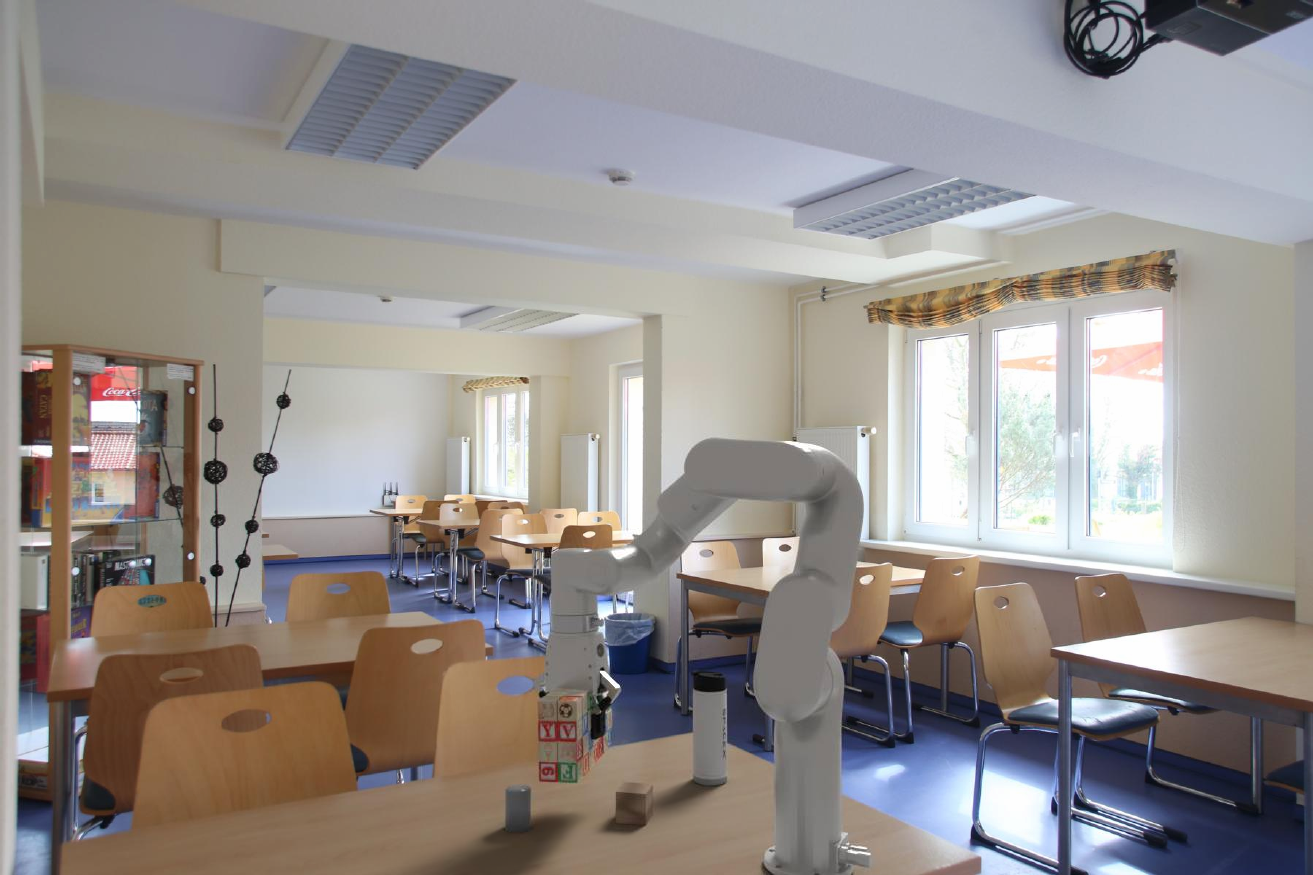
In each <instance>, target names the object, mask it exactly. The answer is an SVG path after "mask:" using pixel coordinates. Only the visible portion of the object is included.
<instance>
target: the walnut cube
mask: <svg viewBox="0 0 1313 875" xmlns="http://www.w3.org/2000/svg"><path fill="white" fill-rule="evenodd" d="M653 815H654V784H653V783H646V782H645V783H644V782H643V783H642V782H630V781H623V782H622V783H621V784H620V786H619V787H618V789H617V790H615V824H623V825H624V824H625V825H634V826H635V825H637V826H638V825H639V826H647V825H648V823H649V822H650V820H651V818H652V816H653Z"/></svg>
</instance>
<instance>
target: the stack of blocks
mask: <svg viewBox="0 0 1313 875" xmlns="http://www.w3.org/2000/svg"><path fill="white" fill-rule="evenodd" d="M607 694H608V691H607V692H605V693H603V695H604V697H606V696H607ZM605 712H606V731H605V735H604V736H603V737H601V738H598V739H596V740H593V739H592V738H591V714H593V713H594V711H593V709H592V707H591V705H590V696H589V691H587V690H575V689H566V688H555V689H554V690H552V692H550V693H548V694H547V695H546V696H544V697H542V698H540V699H538V700H537V718H538V719H537V720H538V721H537V736H538V738H537V739H538V781H539V782H542V783H567V784H569V783H570V784H578V783H579V782H580V781H581V780H582V779H583V778H584V777H585V776H586V775H588V773H589V772H590V770H591V769H593V767H594V766H595V764H596V763H597V762H598V760H600V758H601V757H602V755H603V754H605V753H606V752H607V751H608V750H609V749H610V748H611V746H612V745H613V710H612V705H611V706H610V707H609V709H608V710H607V711H605Z"/></svg>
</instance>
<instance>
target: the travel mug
mask: <svg viewBox="0 0 1313 875" xmlns="http://www.w3.org/2000/svg"><path fill="white" fill-rule="evenodd" d="M690 674H691V676H692V677H693V678H692V684H693V685H692V771H693V772H692V780H693V781H694V782H695V784H698V785H701V786H712V787H713V786H721V785H724V784H725V783H726V782H727V781H728V772H727V771H728V722H727V721H728V720H727V719H728V715H727V714H728V708H727V707H728V705H727V704H728V703H727V702H728V699H727V696H728V694H727V691H728V688H727V676H726V675H723V674H722V673H720V672H715V671H710V670H691V672H690Z"/></svg>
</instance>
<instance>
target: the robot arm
mask: <svg viewBox="0 0 1313 875" xmlns="http://www.w3.org/2000/svg"><path fill="white" fill-rule="evenodd" d="M683 465H684V466H683V471H684V473H683V474H682V475H681V476H679V477H678V478H677V479H676V480H675V481H674V482H673V483H671V484H670V485H669V486H668V487H667V488H665V490H664V491H662V492H661V493H660V494H659V495H658V497H657V498H656V507H657V508H656V509H657V512H658V513H657V516H656V517H655V518H654V520H653V522H652V523H651V524H650V525H648V527H647V528H646V529H644V531H642V533H640V534H639V535H638V536H637V537H635V539H633V540H631V542H630V543H628V544H626V545H618V546H611V547H604V548H598V549H591V548H588V547H587V548H586V547H585V548H584V547H572V548H571V547H570V548H569V547H568V548H560V549H556V550H555V551H553V553H551V557H550V580H551V581H550V586H551V587H550V592H551V594H550V595H551V596H550V597H551V599H550V600H551V632H549V634H548V637H547V641H546V642H547V643H546V650H545V660H544V661H545V662H544V671H543V672H542V673H541V674H540V675H539V676H538V677H537V678H535V679H534V680H533V681H532V686H533V687H534V689H535V691H536V692H537V693H538V696H539V698H540V699H541V698H542V697H544V696H546V695H547V694H548V693H550V692H552V690H554V689H555V688H566V689H575V690H587V691H589V696H590V705H591V707H592V709H593V711H594V713H593V714H591V738H592V739H593V740H596V739H598V738H601V737H603V736H604V735H605V731H606V712H605V711H607V710H608V709H609V707H610V706H611V707H612V705H613V704H614V703H615V701H616V699H617V697H618V696H619V694H620V693H621V692H622V687H621V686H620V684H618V683H617V682H616V680H614V679H613V678H612V677H611V676H610V670H609V668H610V666H609V659H608V650H607V645H606V641H605V636H604V632H602V631H599V629H600V628H603V627H604V625H605V620H604V618H600V617H599V613H598V611H599V608H598V596H599V597H611V596H617V595H620V594H624V593H629V592H633V591H638V590H640V589H643V588H645V587H646V586H648V585H649V584H651V583H653V581H654V580H655V579H657V578H658V577H660V575H662V574H663V573H664V572H665V571H667V570H668V569H669V567H671V566H672V565H674V563H676V562H677V560H679V558H680V557H681V556H682V555H683V554H684V553H685V551H686V550H687V549H688V548H689V547H690V545H691V544H692V542H693V541H694V540H695V538H696V537H697V536H698V535H699V534H700V533H702V531H704V530H705V528H706V529H707V527H708V526H709V525H710V524H711V523H713V522H714V521H715V520H716V519H717V518H719V517H720V516H721V515H722V514H723V513H724V512H726V511H727V510H728V509H729V508H730V507H732V506H733V505H734V504H735V503H737V501H739V500H747V501H760V502H762V501H763V502H774V503H775V502H776V503H786V504H787V503H788V504H789V503H790V504H791V503H793V504H794V503H804V505H805V511H806V512H805V517H804V521H803V523H802V527H801V530H800V535H799V537H798V538H799V539H798V545H797V546H798V548H797V553H796V558H795V563H794V566H793V571H792V572H791V573H789V574H787V575H785V576H783V577H781V578H780V579H779V580H778V581H777V582H776V583H775V584H774V586H773V587H772V589H771V591H770V592H769V595H768V597H767V600H766V603H765V606H764V611H763V614H762V615H763V617H762V620H761V627H760V628H761V629H760V632H759V640H758V645H757V650H756V651H757V652H756V657H755V661H754V662H755V663H754V668H753V669H754V670H753V682H752V683H753V684H752V686H753V692H754V696H755V699H756V701H757V704H758V705H759V707H760V709H761V710H762V711H763V712H764V713H765V714H766V715H767V716H768V717H769V718H771V719H773V720H774V729H773V767H774V768H773V774H774V776H773V779H774V780H773V782H774V783H773V785H774V786H773V788H774V790H773V793H774V845H773V846H771V847H769V848H767V849H766V850H765V852H764V855H763V864H764V867H765V868H766V869H767V870H768V871H769V872H770V873H771V874H772V875H852V874H853V873H854V869H855V866H857V867H860V868H864V869H872V866H873V861H874V859H873V854H872V853H870V852H869V848H868V847H867V846H861V845H857V846H856V845H853V844H852V843H851V842H849V833H848V832H844V831H843V803H842V802H843V799H842V798H843V797H842V796H843V794H842V793H843V792H842V791H843V790H842V787H843V785H842V724H843V723H842V722H843V720H842V717H843V707H844V694H845V675H844V669H843V666H842V665H843V664H842V662H841V661H840V658H839V657H838V654H836V652H835V650H833V648H832V647H830V644H831V643H830V642H831V638H832V633H834V632H836V630H838V629H839V628H840V627H842V625H843V624H844V623H845V622H846V621H847V619H848V616H849V614H850V609H851V604H852V596H853V588H854V582H855V577H856V571H857V565H858V556H859V549H860V542H861V536H862V531H863V524H864V514H865V513H864V512H865V501H864V495H863V489H862V487H861V484H860V482H859V479H858V477H857V476H856V474H855V472H854V471H853V470H852V468H851V467H850V466H849V465H848V464H847V463H846V462H845V461H844V460H843V459H842V458H841V457H839V455H837V454H835V453H834V452H832V451H830V450H829V449H827V448H825V447H822V446H819V445H817V444H816V445H815V444H811V443H804V442H798V441H789V440H788V441H787V440H759V439H758V440H756V439H733V438H725V437H724V438H722V437H709V438H705V439H702V440H701V441H699V442H697V443H696V444H694V446H693V447H691V449H690V450H689V452H688V453H687V454H686V457H685V460H684V463H683ZM607 691H608V694H607V696H606V697H604V695H603V693H605V692H607Z"/></svg>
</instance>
